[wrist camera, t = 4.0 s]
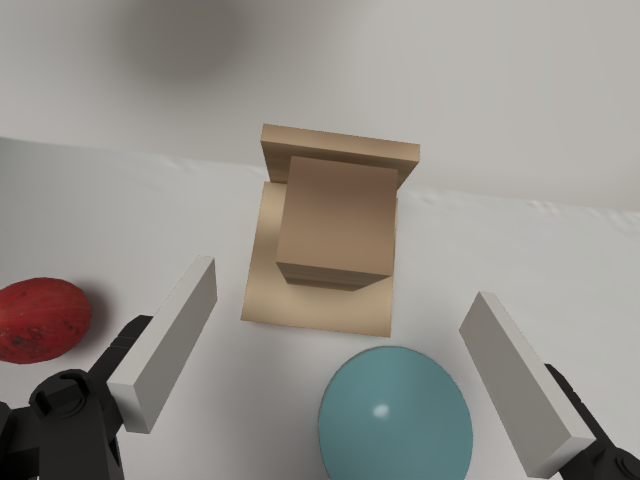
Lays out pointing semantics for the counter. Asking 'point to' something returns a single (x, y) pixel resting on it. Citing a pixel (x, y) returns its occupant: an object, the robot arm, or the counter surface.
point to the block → (337, 224)
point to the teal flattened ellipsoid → (394, 419)
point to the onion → (41, 319)
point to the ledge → (264, 275)
